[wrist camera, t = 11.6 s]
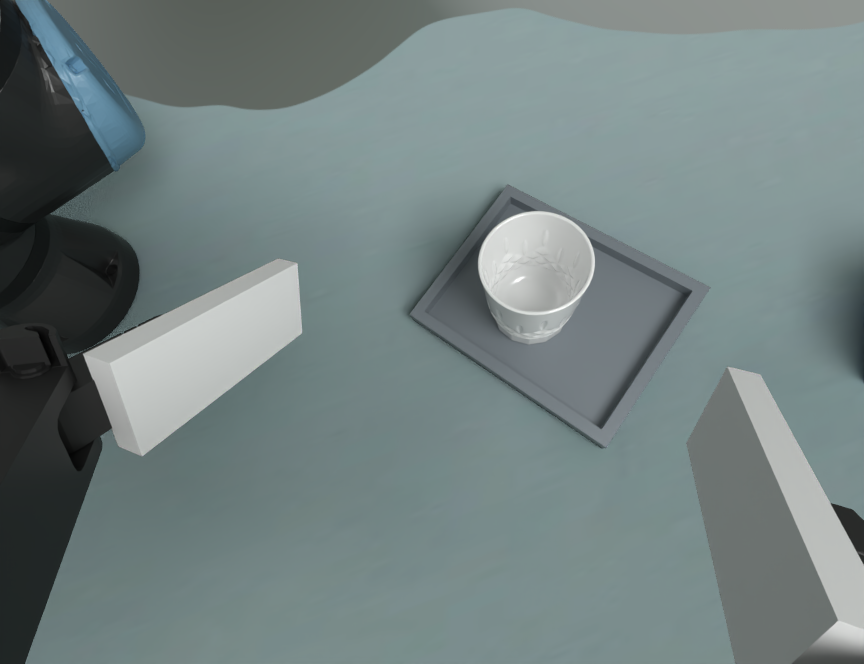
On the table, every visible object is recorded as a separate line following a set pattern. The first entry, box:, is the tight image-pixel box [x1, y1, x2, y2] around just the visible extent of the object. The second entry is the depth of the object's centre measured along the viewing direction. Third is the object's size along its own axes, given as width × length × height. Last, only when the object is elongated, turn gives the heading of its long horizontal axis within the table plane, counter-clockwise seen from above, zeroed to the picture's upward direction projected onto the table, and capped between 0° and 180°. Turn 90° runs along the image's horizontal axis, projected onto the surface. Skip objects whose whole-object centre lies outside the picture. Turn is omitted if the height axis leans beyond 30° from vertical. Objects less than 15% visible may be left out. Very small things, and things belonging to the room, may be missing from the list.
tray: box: [410, 185, 711, 448], centre depth 39 cm, size 20×16×2 cm
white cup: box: [478, 211, 595, 345], centre depth 35 cm, size 8×8×10 cm
